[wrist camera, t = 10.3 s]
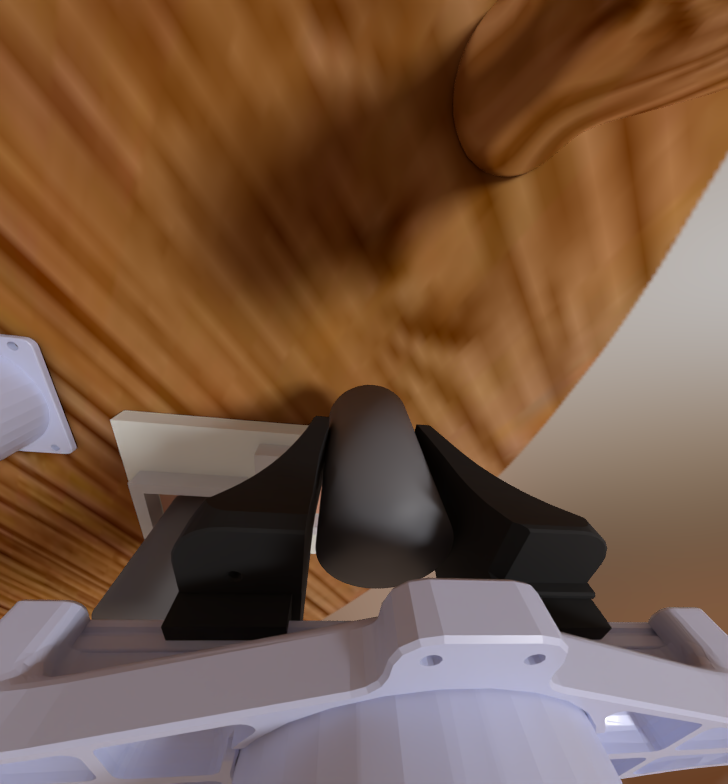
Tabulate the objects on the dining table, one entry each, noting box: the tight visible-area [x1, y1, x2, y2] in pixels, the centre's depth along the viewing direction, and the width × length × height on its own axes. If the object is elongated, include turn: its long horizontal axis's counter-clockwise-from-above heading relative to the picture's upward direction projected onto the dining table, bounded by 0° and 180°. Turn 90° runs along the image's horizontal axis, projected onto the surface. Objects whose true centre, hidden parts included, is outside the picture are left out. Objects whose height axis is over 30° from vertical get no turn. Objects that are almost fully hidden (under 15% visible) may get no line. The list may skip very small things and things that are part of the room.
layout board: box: [110, 410, 322, 554], centre depth 21 cm, size 17×12×2 cm
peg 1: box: [92, 495, 209, 620], centre depth 17 cm, size 4×4×7 cm
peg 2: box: [315, 385, 454, 588], centre depth 11 cm, size 4×4×7 cm
